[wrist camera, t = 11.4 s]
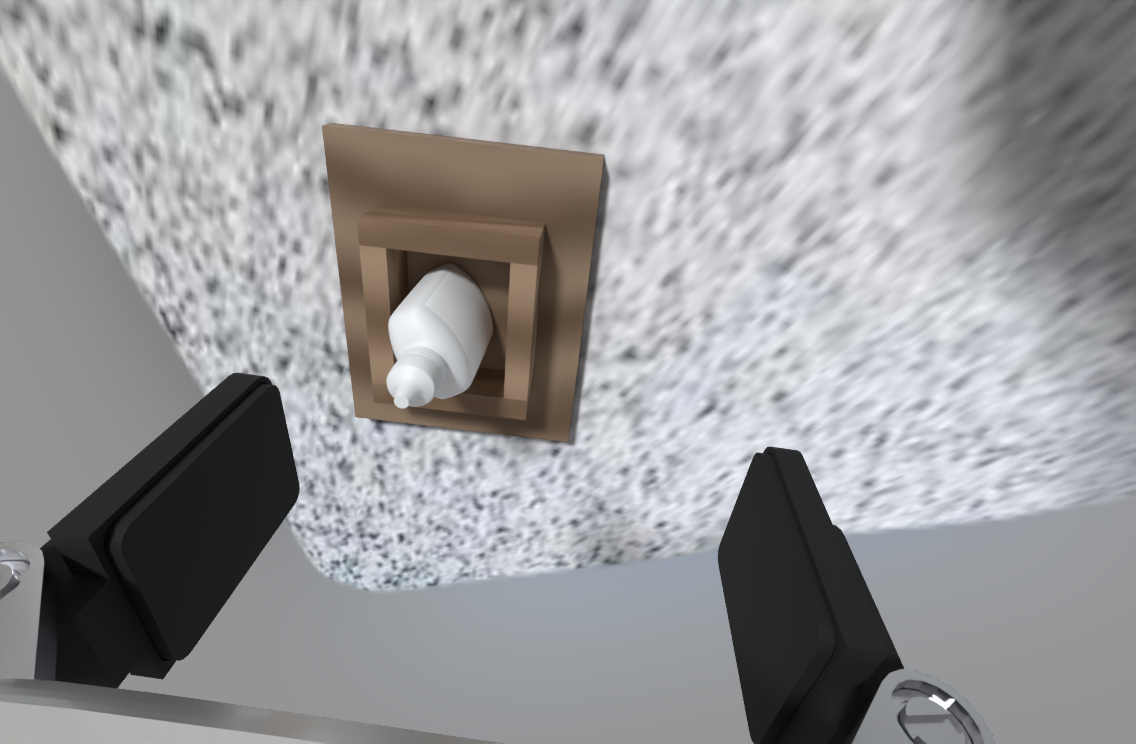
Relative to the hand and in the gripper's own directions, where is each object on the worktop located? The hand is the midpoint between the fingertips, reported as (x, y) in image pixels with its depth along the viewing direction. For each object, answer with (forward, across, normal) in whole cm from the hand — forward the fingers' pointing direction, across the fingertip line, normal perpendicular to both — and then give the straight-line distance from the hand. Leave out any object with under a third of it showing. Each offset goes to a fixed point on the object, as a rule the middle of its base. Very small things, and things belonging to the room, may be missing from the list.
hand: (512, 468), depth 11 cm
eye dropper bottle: (+24, +7, +8) cm, 26 cm away
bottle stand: (+25, +7, +8) cm, 28 cm away
